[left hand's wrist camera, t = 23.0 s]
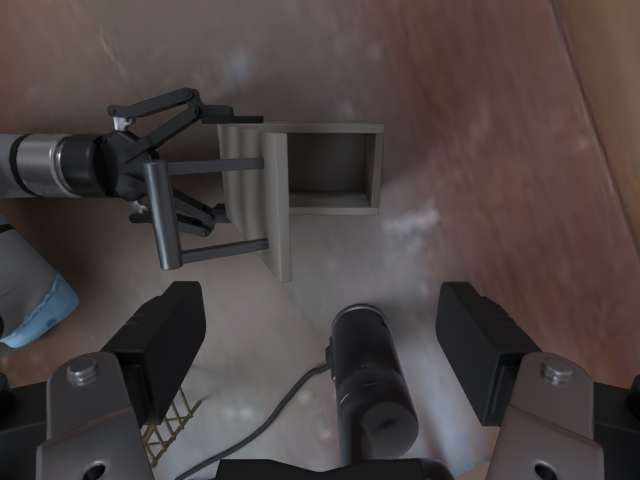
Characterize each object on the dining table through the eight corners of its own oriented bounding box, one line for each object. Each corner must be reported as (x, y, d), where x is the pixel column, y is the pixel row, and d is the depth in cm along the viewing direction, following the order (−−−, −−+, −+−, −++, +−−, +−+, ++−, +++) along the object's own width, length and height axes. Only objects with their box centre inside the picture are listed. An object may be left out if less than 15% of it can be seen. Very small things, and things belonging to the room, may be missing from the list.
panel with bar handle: (287, 133, 20) (136, 137, 17) (291, 281, 24) (167, 308, 21) (224, 124, 36) (138, 125, 32) (233, 215, 39) (156, 225, 36)
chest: (371, 121, 45) (384, 124, 36) (367, 195, 49) (378, 215, 39) (242, 121, 45) (222, 124, 36) (247, 195, 49) (230, 214, 39)
